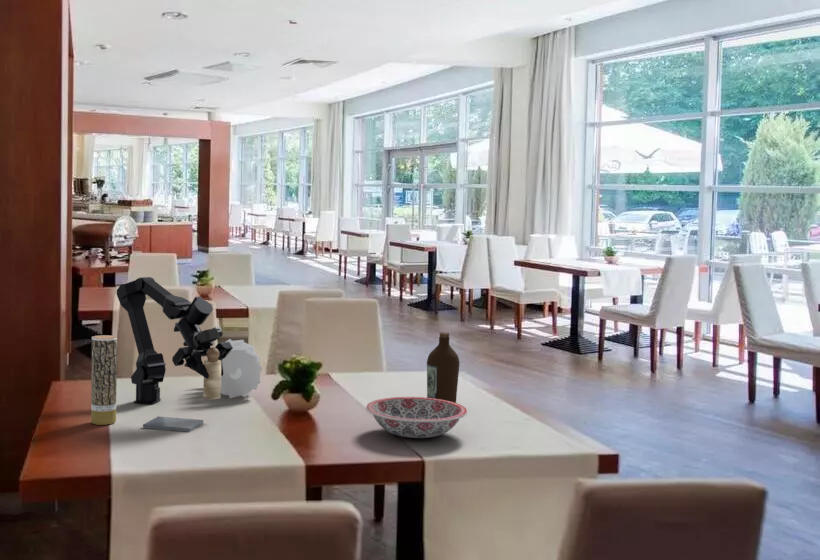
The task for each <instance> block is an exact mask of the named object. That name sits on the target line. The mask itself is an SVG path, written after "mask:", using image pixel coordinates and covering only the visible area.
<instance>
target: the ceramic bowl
mask: <svg viewBox="0 0 820 560" xmlns="http://www.w3.org/2000/svg"><path fill="white" fill-rule="evenodd" d="M365 410H366V411H367V412H368V413H370V414H371V415H373V417H374V419H375V421H376V423H377V424H378V425H379V426H380V427H381V428H382V429H384V430H385V431H386V432H388V433H390V434H393V435H396V436H399V437H403V438H413V439H426V438H427V439H428V438H434V437H439V436H441V435H444V434H447V433H448V432H449V431H451V430H452V429H453V428H454V427H455V426H456V425H457V423H458V422H459V421H460V419H461V418H464V417H465V416H466V415H468V409H467V408H466V407H465V406H463V405H462V404H460V403H457V402H456V403H455V402H451V401H447V400H442V399H435V398H427V396H426V397H425V396H423V397H421V396H394V397H393V396H392V397H384V398H379V399H376V400H373V401H371V402H368V403H367V405H366V406H365Z"/></svg>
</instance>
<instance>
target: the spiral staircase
mask: <svg viewBox="0 0 820 560" xmlns="http://www.w3.org/2000/svg"><path fill="white" fill-rule="evenodd" d="M225 342H230V344H231V346H232V347H233V349H232V350H231V351H230V352H229V354H228V355H227V356H226V357H225V358H224V359H222V365H223V373H224V374H223V376H221V395H224V396H229V397H228V398H229V399H233V398H237V397H241V396H242V397H243V398H245V397H246V396H247V395H249V393H250V392H252V391H253V390H255V391H256V390H257V389H258V385H259V384H261V378H260V377H261V374H260V373H261V372H262V371H263V367H262V366H261V364H260V361H261V358H260V356H259V355H258V354H257V352H256V351H255V348H256V347H255V346H253V345H252V344H249V343H247V342H245V340H244V339H238V340H237V339H236V340H232V339H231V338H229V339H227V340H226V341H225Z"/></svg>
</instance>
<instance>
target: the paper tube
mask: <svg viewBox="0 0 820 560" xmlns="http://www.w3.org/2000/svg"><path fill="white" fill-rule="evenodd" d="M117 348H118V338H117V336H116V335H112V334H111V335H107V334H102V335H101V334H100V335H94V336H91V377H90V378H91V382H90V383H91V388H90V389H91V392H90V393H91V396H90V397H91V402H90V403H91V406H90V409H91V410H90V411H91V413H90V414H91V415H90V417H91V418H90V423H92V425H97V426H106V425H107V426H108V424H109V425H112V424H114V423H115V422H116V421H117V377H118V376H117V369H118V368H117V367H118V366H117V362H118V361H117V360H118V359H117V357H118V355H117V354H118V353H117V352H118V349H117Z"/></svg>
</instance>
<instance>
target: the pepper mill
mask: <svg viewBox="0 0 820 560" xmlns="http://www.w3.org/2000/svg"><path fill="white" fill-rule="evenodd" d="M206 355H207V356H206V357H207V359H205V360H204V361H203V364H204V366H205V368H206V370H207V372H208V375H209V377H208V378H207V379H206V378H205V377H203V388H202V389H203V391H202V392H203V393H202V395H203V396H202V398H203V399H205V400H219V399H221V395H222V394H221V360H218V357H219V351H218V349H216V348H215V347H210V349H208V350H207V353H206Z"/></svg>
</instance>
